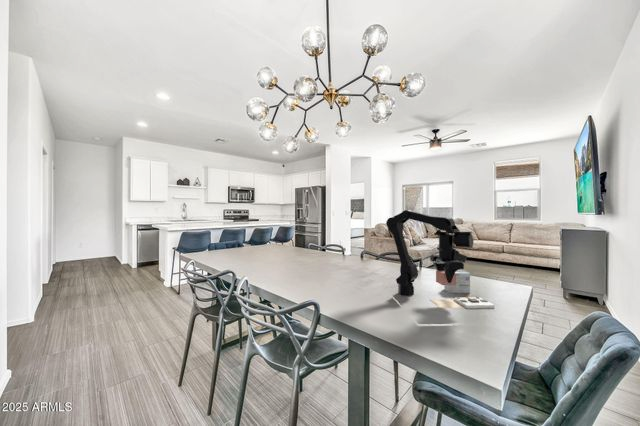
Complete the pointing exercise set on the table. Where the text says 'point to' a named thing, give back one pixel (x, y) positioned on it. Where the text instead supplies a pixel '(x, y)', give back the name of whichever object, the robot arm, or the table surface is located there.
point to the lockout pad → (446, 304)
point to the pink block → (444, 278)
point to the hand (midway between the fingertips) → (445, 280)
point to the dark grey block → (473, 300)
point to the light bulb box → (460, 283)
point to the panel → (469, 304)
